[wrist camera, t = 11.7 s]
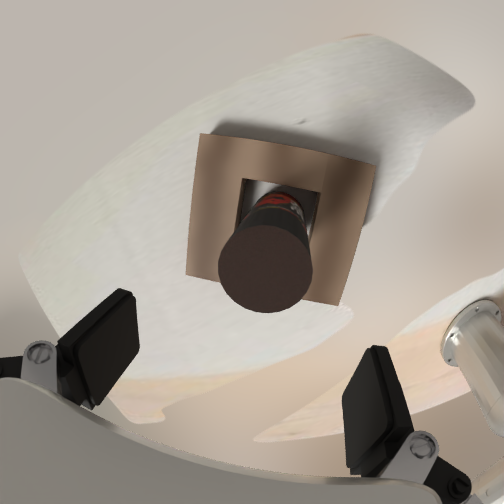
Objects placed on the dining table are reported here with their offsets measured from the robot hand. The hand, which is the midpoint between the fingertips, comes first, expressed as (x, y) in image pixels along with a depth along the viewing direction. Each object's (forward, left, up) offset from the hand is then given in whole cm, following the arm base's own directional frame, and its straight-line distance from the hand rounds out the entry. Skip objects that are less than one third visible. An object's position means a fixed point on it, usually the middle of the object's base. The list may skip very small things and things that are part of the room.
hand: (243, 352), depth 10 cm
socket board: (0, 0, -23) cm, 23 cm away
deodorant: (0, 0, -23) cm, 23 cm away
